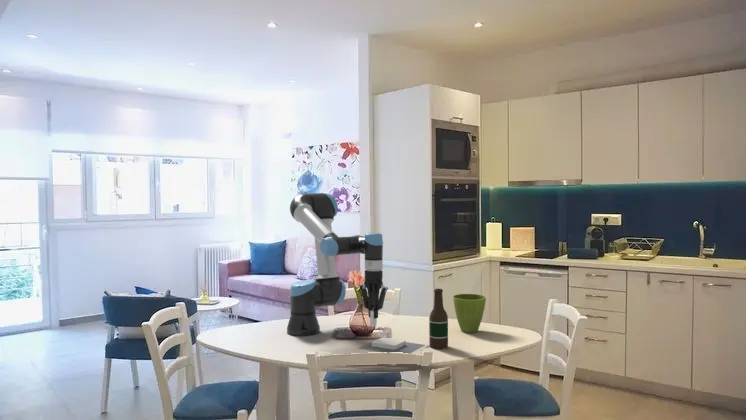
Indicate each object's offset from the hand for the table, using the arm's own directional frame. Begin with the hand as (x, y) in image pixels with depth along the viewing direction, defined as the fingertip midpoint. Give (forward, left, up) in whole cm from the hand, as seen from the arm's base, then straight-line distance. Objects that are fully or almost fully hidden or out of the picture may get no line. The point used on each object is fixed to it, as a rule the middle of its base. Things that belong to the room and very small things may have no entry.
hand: (373, 325), depth 232 cm
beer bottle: (+25, +11, -8) cm, 29 cm away
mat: (+9, 0, -8) cm, 12 cm away
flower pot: (+26, +42, -8) cm, 50 cm away
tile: (+2, 0, -7) cm, 7 cm away
